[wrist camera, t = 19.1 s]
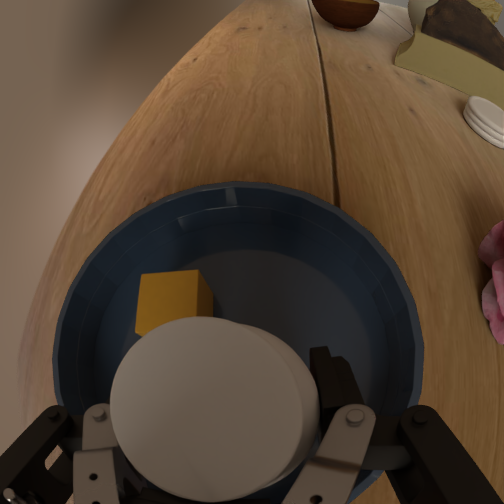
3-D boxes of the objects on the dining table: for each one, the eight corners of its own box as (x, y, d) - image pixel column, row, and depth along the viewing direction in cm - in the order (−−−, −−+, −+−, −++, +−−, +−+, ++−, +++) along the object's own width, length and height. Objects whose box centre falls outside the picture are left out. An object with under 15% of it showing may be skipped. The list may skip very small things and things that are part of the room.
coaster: (460, 126, 29) (467, 107, 26) (464, 104, 33) (469, 88, 30) (512, 160, 26) (522, 143, 23) (509, 132, 29) (516, 117, 26)
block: (160, 346, 19) (134, 332, 16) (163, 296, 21) (140, 273, 18) (213, 346, 19) (196, 332, 15) (213, 293, 21) (198, 268, 17)
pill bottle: (197, 362, 17) (90, 296, 7) (296, 350, 16) (312, 266, 7) (205, 456, 13) (96, 508, 4) (310, 447, 13) (351, 515, 4)
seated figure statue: (505, 97, 36) (530, -5, 10) (517, 122, 31) (551, 2, 5) (399, 50, 45) (405, -59, 19) (394, 65, 40) (401, -68, 14)
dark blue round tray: (93, 483, 14) (53, 491, 9) (113, 236, 25) (87, 205, 21) (401, 489, 12) (431, 507, 8) (360, 211, 24) (371, 171, 19)
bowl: (336, 19, 60) (336, -8, 51) (388, 34, 52) (390, 4, 44) (298, 26, 55) (296, -6, 47) (355, 40, 48) (357, 4, 39)
